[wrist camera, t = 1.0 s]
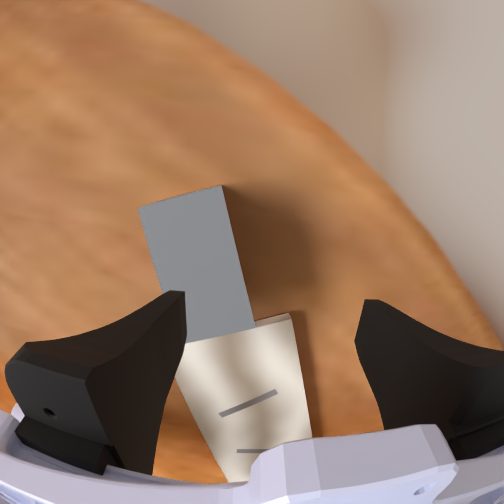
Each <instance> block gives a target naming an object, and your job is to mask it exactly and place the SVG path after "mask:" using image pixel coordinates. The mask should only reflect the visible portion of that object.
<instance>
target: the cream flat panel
mask: <svg viewBox="0 0 504 504" xmlns="http://www.w3.org/2000/svg"><path fill="white" fill-rule="evenodd" d="M254 322H255V326H256V328H253V329H249V330H245V331H241V332H237V333H232V334H228V335H223V336H219V337H214V338H210V339H205V340H200V341H195V342H190V343H186V344H185V347H184V352H183V356H182V358H181V361H180V364H179V366H178V369H177V372H176V374H175V379H176V381H177V383H178V386H179V388H180V390H181V392H182V394H183V397H184V399H185V401H186V403H187V405H188V407H189V409H190V411H191V413H192V415H193V417H194V419H195V421H196V423H197V425H198V427H199V429H200V431H201V433H202V435H203V437H204V439H205V441H206V443H207V444H208V446H209V448H210V450H211V452H212V454H213V455H214V457H215V459H216V461H217V463H218V464H219V466H220V468H221V470H222V471H223V473H224V475H225V476H226V478H227V480H228V481H229V483H232V482H243V481H249V479H250V472H251V466H252V464H253V463H254V462H255V460H256V459H257V458H258V456H259V455H260V454H261V453H263V452H264V451H266V450H269V449H271V448H273V447H275V446H278V445H280V444H282V443H284V442H289V441H295V440H301V439H307V438H312V432H311V426H310V420H309V414H308V408H307V402H306V396H305V390H304V384H303V379H302V373H301V367H300V362H299V356H298V351H297V345H296V340H295V334H294V329H293V323H292V318H291V317H290V315H289V313H285V314H281V315H277V316H274V317H270V318H266V319H262V320H258V321H254Z"/></svg>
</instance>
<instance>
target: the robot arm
mask: <svg viewBox="0 0 504 504" xmlns="http://www.w3.org/2000/svg"><path fill="white" fill-rule="evenodd" d="M186 338H187V323H186V303H185V291H175V290H169V291H167V292H166V293H164V294H162V295H161V296H159V297H158V298H156V299H154V300H153V301H151V302H150V303H148V304H147V305H145V306H143V307H142V308H140V309H138V310H137V311H135V312H133V313H131V314H129V315H128V316H126V317H124V318H122V319H120V320H118V321H116V322H114V323H111V324H109V325H106V326H104V327H101V328H99V329H96V330H92V331H89V332H86V333H83V334H80V335H75V336H71V337H67V338H61V339H55V340H47V341H37V342H26V343H25V344H24V345H23V346H22V347H21V348H20V349H19V350H18V351H17V353H16V354H15V355H14V356H13V357H12V358H11V359H10V360H9V362H8V363H7V364H6V365H5V377H6V381H7V384H8V386H9V388H10V390H11V392H12V394H13V396H14V398H15V400H16V402H17V403H16V404H15V406H14V408H13V409H12V412H11V415H10V414H8V413H6V412H5V411H3V410H1V409H0V504H503V503H504V351H499V350H493V349H488V348H483V347H479V346H475V345H472V344H469V343H465V342H462V341H459V340H456V339H454V338H451V337H449V336H446V335H444V334H442V333H439V332H437V331H435V330H433V329H431V328H429V327H427V326H425V325H424V324H422V323H420V322H418V321H416V320H415V319H413V318H411V317H409V316H408V315H406V314H404V313H403V312H401V311H399V310H397V309H396V308H394V307H392V306H391V305H389V304H387V303H385V302H383V301H380V300H370V299H365V301H364V305H363V309H362V313H361V317H360V321H359V325H358V329H357V333H356V337H355V340H354V341H355V345H356V349H357V353H358V357H359V360H360V363H361V365H362V368H363V370H364V372H365V375H366V377H367V379H368V382H369V384H370V386H371V389H372V391H373V393H374V396H375V398H376V401H377V404H378V407H379V410H380V414H381V418H382V422H383V426H384V430H383V431H376V432H369V433H361V434H352V435H342V436H331V437H316V438H307V439H301V440H295V441H289V442H284V443H282V444H280V445H278V446H275V447H273V448H271V449H269V450H266V451H264V452H263V453H261V454H260V455H259V456H258V458H257V459H256V460H255V462H254V463H253V464H252V466H251V472H250V479H249V481H243V482H232V483H217V484H203V483H194V482H187V481H180V480H173V479H167V478H162V477H157V476H152V472H153V464H154V458H155V451H156V445H157V440H158V434H159V429H160V424H161V419H162V415H163V410H164V406H165V402H166V399H167V396H168V393H169V390H170V388H171V385H172V382H173V380H174V377H175V374H176V372H177V369H178V366H179V364H180V361H181V358H182V356H183V352H184V347H185V343H186Z"/></svg>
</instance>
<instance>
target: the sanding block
mask: <svg viewBox="0 0 504 504" xmlns="http://www.w3.org/2000/svg"><path fill="white" fill-rule="evenodd" d="M138 211H139V215H140V218H141V222H142V226H143V230H144V233H145V237H146V240H147V244H148V247H149V251H150V254H151V258H152V261H153V264H154V267H155V271H156V274H157V277H158V280H159V283H160V287H161V290H162V293H163V294H164V293H166V292H167V291H169V290H175V291H185V303H186V323H187V338H186V343H190V342H195V341H200V340H205V339H210V338H214V337H219V336H223V335H228V334H232V333H237V332H241V331H245V330H249V329H253V328H256V326H255V322H254V318H253V314H252V310H251V306H250V302H249V298H248V294H247V290H246V286H245V282H244V278H243V274H242V270H241V266H240V261H239V257H238V253H237V249H236V245H235V241H234V236H233V232H232V228H231V224H230V220H229V215H228V211H227V207H226V203H225V198H224V194H223V190H222V186H221V185H218V186H214V187H210V188H206V189H202V190H198V191H194V192H190V193H186V194H182V195H179V196H175V197H171V198H167V199H164V200H160V201H157V202H154V203H151V204H148V205H145V206H142V207H140V208H138ZM186 343H185V344H186Z"/></svg>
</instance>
